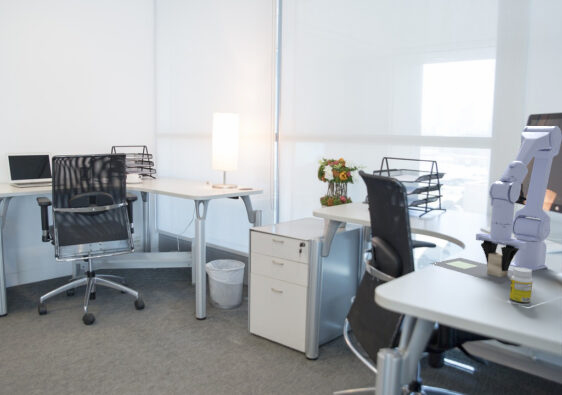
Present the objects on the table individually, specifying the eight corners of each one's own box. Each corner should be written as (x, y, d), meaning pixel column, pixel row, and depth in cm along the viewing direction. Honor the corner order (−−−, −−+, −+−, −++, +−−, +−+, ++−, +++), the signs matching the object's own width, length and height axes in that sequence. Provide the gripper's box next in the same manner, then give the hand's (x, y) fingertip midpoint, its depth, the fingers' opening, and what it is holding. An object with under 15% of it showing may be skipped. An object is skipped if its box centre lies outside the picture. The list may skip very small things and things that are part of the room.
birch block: (494, 271, 146) (496, 252, 146) (507, 275, 143) (509, 255, 142) (486, 273, 144) (488, 253, 143) (499, 276, 141) (501, 256, 140)
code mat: (460, 258, 163) (460, 257, 163) (531, 276, 143) (531, 275, 143) (429, 264, 154) (429, 263, 154) (500, 284, 134) (500, 283, 134)
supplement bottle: (512, 298, 123) (515, 265, 122) (532, 302, 120) (536, 269, 119) (506, 302, 119) (509, 269, 118) (527, 307, 116) (531, 273, 115)
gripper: (471, 219, 145) (467, 264, 147) (518, 228, 134) (513, 276, 135) (485, 218, 149) (481, 261, 151) (532, 226, 138) (527, 273, 139)
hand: (497, 268), depth 143 cm, fingers closed on birch block, 4 cm apart
